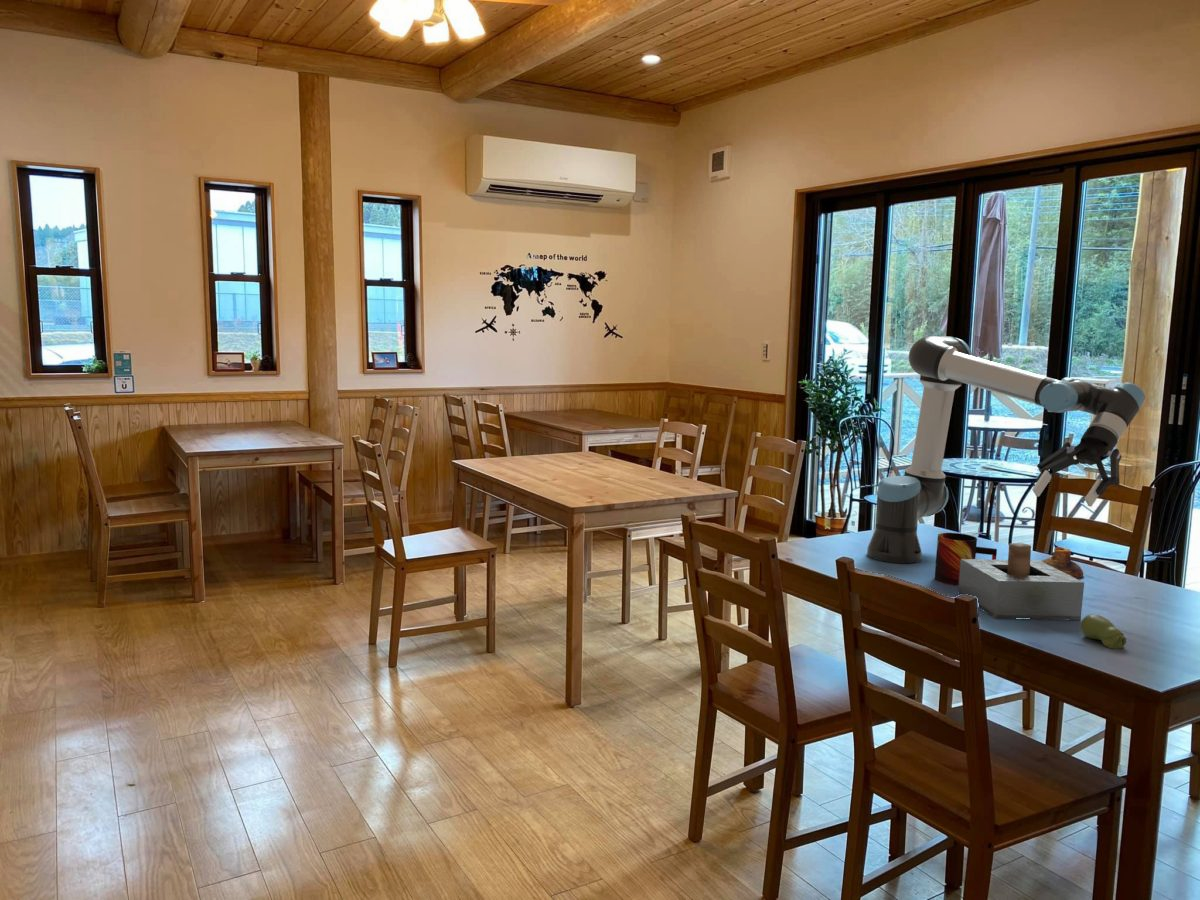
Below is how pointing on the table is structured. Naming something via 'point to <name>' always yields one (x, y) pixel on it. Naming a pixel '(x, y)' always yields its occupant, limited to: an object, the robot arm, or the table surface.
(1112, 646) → the pear
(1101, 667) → the table surface
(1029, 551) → the peg
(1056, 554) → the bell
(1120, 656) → the table surface
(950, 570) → the mug
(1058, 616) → the box
